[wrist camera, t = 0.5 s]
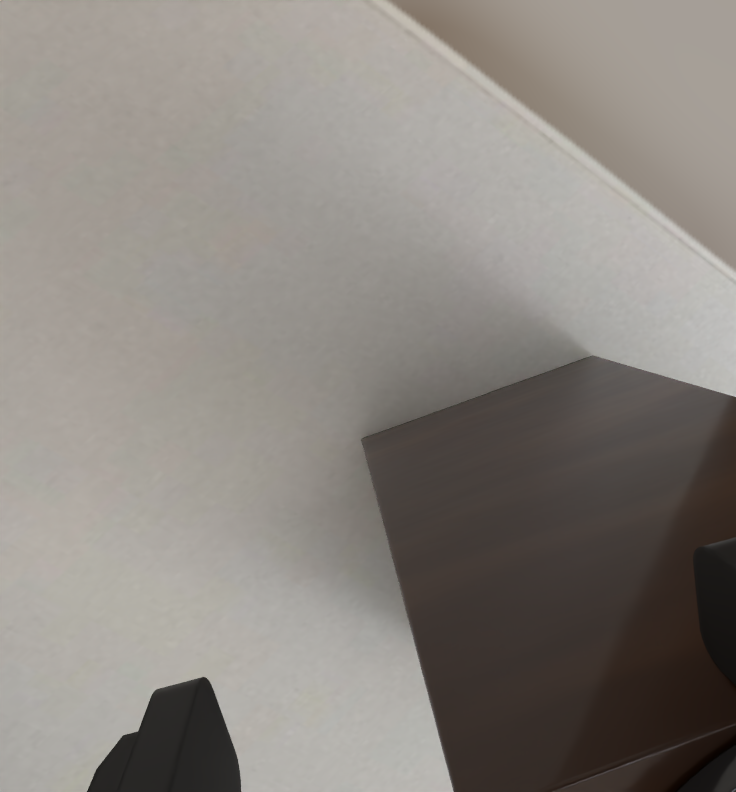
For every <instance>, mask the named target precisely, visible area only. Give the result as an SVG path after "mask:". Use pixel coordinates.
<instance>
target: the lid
mask: <svg viewBox="0 0 736 792" xmlns="http://www.w3.org/2000/svg"><path fill="white" fill-rule="evenodd" d="M675 792H736V743H735V744H734V745H732V746H731V747H729V748H728V749H727V750H725V751H724V752H722V753H721V754H719V755H718V756H717V757H715V758H714V759H712V760H711V761H710V762H708V763H707V764H706V765H705V766H704V767H703V768H701V769H700V770H699V771H698V772H697V773H696V774H695V775H693V776H692V777H691V778H690V779H689V780H688V781H686V782H685V783H684V784H683V785H682V786H681V787H679V788H678V789H677V790H676V791H675Z"/></svg>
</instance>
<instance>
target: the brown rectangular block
mask: <svg viewBox="0 0 736 792" xmlns="http://www.w3.org/2000/svg"><path fill="white" fill-rule="evenodd" d="M361 441H362V445H363V448H364V452H365V456H366V460H367V464H368V468H369V471H370V475H371V479H372V483H373V487H374V490H375V494H376V498H377V502H378V506H379V509H380V513H381V517H382V521H383V525H384V528H385V532H386V536H387V540H388V544H389V547H390V551H391V555H392V559H393V563H394V566H395V570H396V574H397V578H398V582H399V585H400V589H401V593H402V597H403V601H404V605H405V608H406V612H407V616H408V620H409V624H410V627H411V631H412V635H413V639H414V643H415V646H416V650H417V654H418V658H419V662H420V665H421V669H422V673H423V677H424V681H425V684H426V688H427V692H428V696H429V700H430V703H431V707H432V711H433V715H434V719H435V722H436V726H437V730H438V734H439V738H440V742H441V745H442V749H443V753H444V757H445V761H446V764H447V768H448V772H449V776H450V780H451V783H452V787H453V791H454V792H675V791H676V790H677V789H678V788H679V787H681V786H682V785H683V784H684V783H685V782H686V781H688V780H689V779H690V778H691V777H692V776H693V775H695V774H696V773H697V772H698V771H699V770H700V769H701V768H703V767H704V766H705V765H706V764H707V763H708V762H710V761H711V760H712V759H714V758H715V757H717V756H718V755H719V754H721V753H722V752H724V751H725V750H727V749H728V748H729V747H731V746H732V745H734V744H735V743H736V686H735V685H734V684H733V683H732V682H731V681H730V680H729V679H728V678H727V677H726V676H725V675H724V674H723V673H722V672H721V671H720V669H719V668H718V667H717V666H716V664H715V663H714V661H713V660H712V658H711V656H710V655H709V653H708V651H707V649H706V647H705V644H704V642H703V639H702V636H701V632H700V626H699V616H698V606H697V596H696V586H695V576H694V566H693V555H694V551H695V550H696V549H697V548H698V547H701V546H705V545H709V544H713V543H716V542H720V541H724V540H728V539H731V538H735V537H736V397H733V396H730V395H726V394H723V393H720V392H716V391H713V390H709V389H706V388H702V387H699V386H696V385H692V384H689V383H685V382H682V381H678V380H675V379H672V378H668V377H665V376H661V375H658V374H654V373H651V372H648V371H644V370H641V369H637V368H634V367H630V366H627V365H623V364H620V363H617V362H613V361H610V360H606V359H603V358H599V357H596V356H590V357H588V358H585V359H582V360H579V361H577V362H574V363H571V364H568V365H565V366H563V367H560V368H557V369H554V370H552V371H549V372H546V373H543V374H540V375H538V376H535V377H532V378H529V379H527V380H524V381H521V382H518V383H516V384H513V385H510V386H507V387H504V388H502V389H499V390H496V391H493V392H491V393H488V394H485V395H482V396H479V397H477V398H474V399H471V400H468V401H466V402H463V403H460V404H457V405H454V406H452V407H449V408H446V409H443V410H441V411H438V412H435V413H432V414H429V415H427V416H424V417H421V418H418V419H416V420H413V421H410V422H407V423H404V424H402V425H399V426H396V427H393V428H391V429H388V430H385V431H382V432H379V433H377V434H374V435H371V436H368V437H366V438H363V439H362V440H361Z"/></svg>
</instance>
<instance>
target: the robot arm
mask: <svg viewBox="0 0 736 792" xmlns="http://www.w3.org/2000/svg"><path fill="white" fill-rule="evenodd" d="M693 566H694V576H695V586H696V596H697V606H698V616H699V626H700V632H701V636H702V639H703V642H704V644H705V647H706V649H707V651H708V653H709V655H710V656H711V658H712V660H713V661H714V663H715V664H716V666H717V667H718V668H719V669H720V671H721V672H722V673H723V674H724V675H725V676H726V677H727V678H728V679H729V680H730V681H731V682H732V683H733V684H734V685H735V686H736V537H735V538H731V539H728V540H724V541H720V542H716V543H713V544H709V545H705V546H701V547H698V548H697V549H696V550H695V551H694V555H693ZM87 792H241V780H240V770H239V764H238V759H237V755H236V752H235V749H234V746H233V744H232V741H231V738H230V735H229V732H228V730H227V727H226V724H225V721H224V718H223V716H222V713H221V710H220V707H219V705H218V702H217V699H216V696H215V693H214V691H213V688H212V685H211V684H210V682H209V680H208V679H207V678H205V677H202V678H198V679H194V680H191V681H187V682H183V683H179V684H176V685H172V686H168V687H164V688H160V689H157V690H156V691H154V693H153V694H152V696H151V699H150V701H149V704H148V707H147V709H146V712H145V715H144V718H143V720H142V723H141V726H140V728H139V731H138V732H135V733H131V734H127V735H123V736H122V738H121V739H120V740H119V741H118V743H117V744H116V745H115V747H114V748H113V749H112V750H111V752H110V753H109V754H108V755H107V757H106V758H105V759H104V761H103V762H102V763H101V764H100V766H99V767H98V768H97V770H96V772H95V774H94V777H93V779H92V781H91V784H90V786H89V789H88V791H87Z"/></svg>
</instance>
